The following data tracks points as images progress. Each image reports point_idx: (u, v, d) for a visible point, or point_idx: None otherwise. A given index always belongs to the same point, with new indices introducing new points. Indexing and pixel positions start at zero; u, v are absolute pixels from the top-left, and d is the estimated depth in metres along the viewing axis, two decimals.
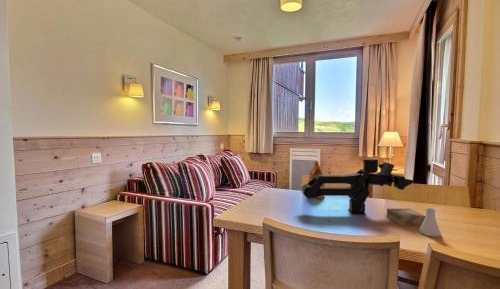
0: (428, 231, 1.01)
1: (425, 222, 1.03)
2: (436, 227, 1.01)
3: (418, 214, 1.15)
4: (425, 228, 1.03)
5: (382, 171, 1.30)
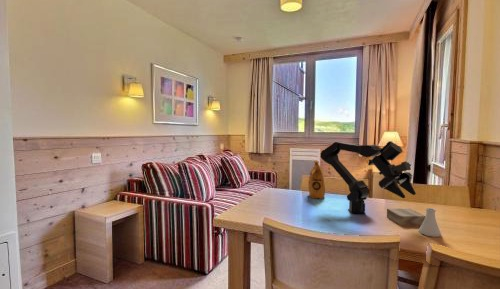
0: (428, 231, 1.01)
1: (425, 222, 1.03)
2: (436, 227, 1.01)
3: (418, 214, 1.15)
4: (425, 228, 1.03)
5: None
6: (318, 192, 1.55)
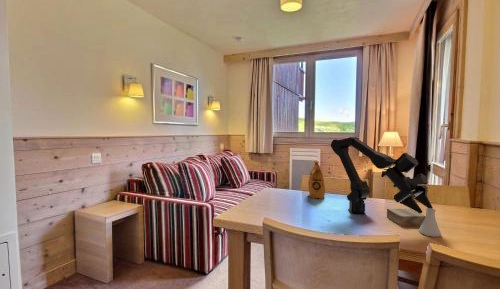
0: (428, 231, 1.01)
1: (425, 222, 1.03)
2: (436, 227, 1.01)
3: (418, 214, 1.15)
4: (425, 228, 1.03)
5: None
6: (318, 192, 1.55)
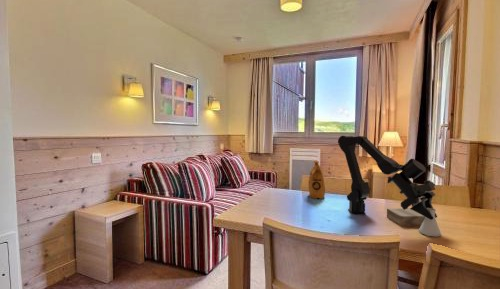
0: (428, 231, 1.01)
1: (425, 222, 1.03)
2: (436, 227, 1.01)
3: (418, 214, 1.15)
4: (425, 227, 1.03)
5: (418, 185, 1.07)
6: (318, 192, 1.55)
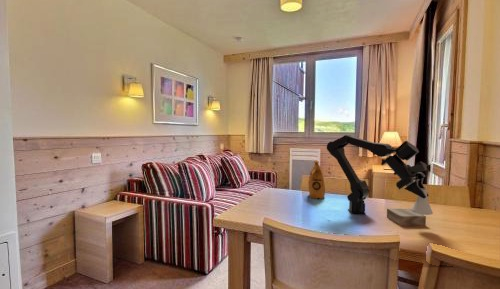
0: (422, 210, 1.06)
1: (418, 201, 1.08)
2: (428, 206, 1.06)
3: (418, 214, 1.15)
4: (418, 207, 1.07)
5: None
6: (318, 192, 1.55)
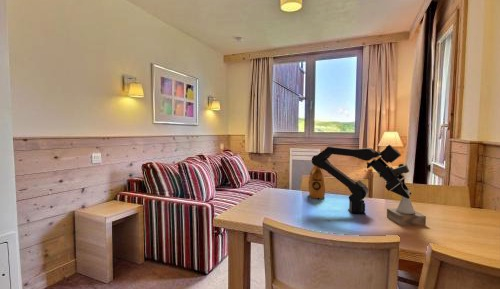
0: (407, 210, 1.15)
1: (403, 202, 1.17)
2: (411, 205, 1.16)
3: (418, 214, 1.15)
4: (403, 207, 1.16)
5: (394, 168, 1.20)
6: (318, 192, 1.55)
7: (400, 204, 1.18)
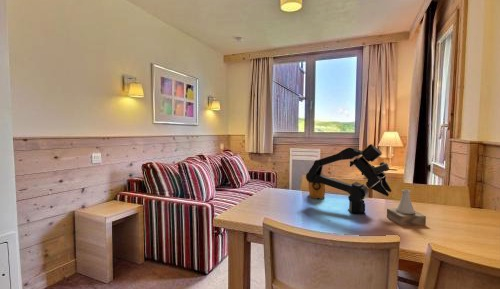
0: (407, 210, 1.15)
1: (403, 202, 1.17)
2: (411, 205, 1.16)
3: (418, 214, 1.15)
4: (403, 207, 1.16)
5: None
6: (318, 192, 1.55)
7: (400, 204, 1.18)
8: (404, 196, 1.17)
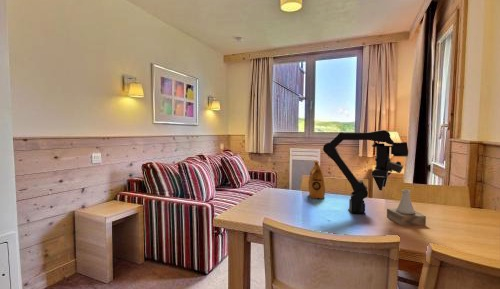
0: (407, 210, 1.15)
1: (403, 202, 1.17)
2: (411, 205, 1.16)
3: (418, 214, 1.15)
4: (403, 207, 1.16)
5: (391, 162, 1.23)
6: (318, 192, 1.55)
7: (400, 204, 1.18)
8: (404, 196, 1.17)
